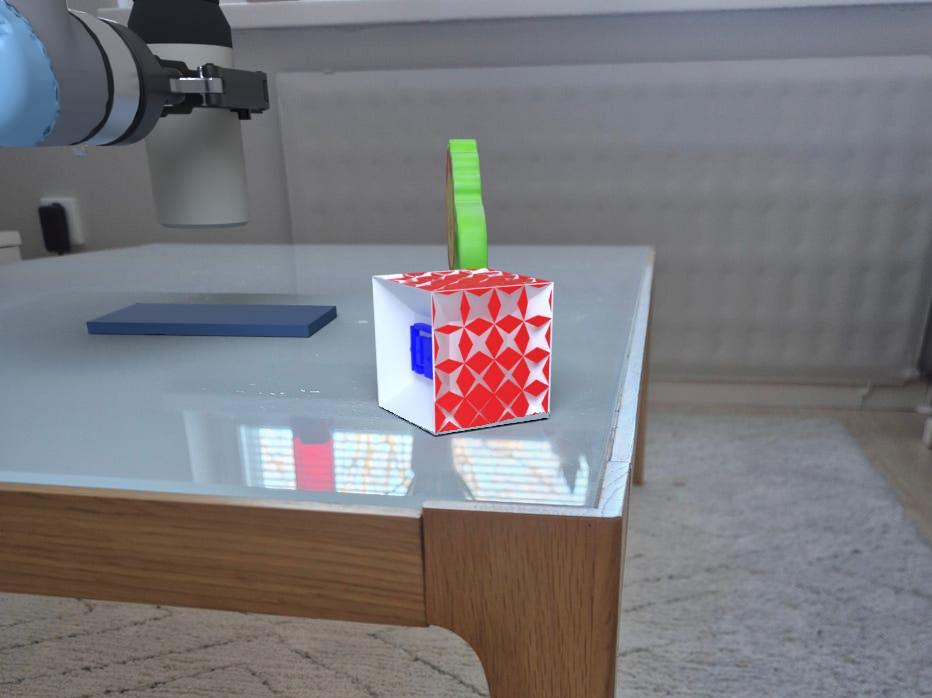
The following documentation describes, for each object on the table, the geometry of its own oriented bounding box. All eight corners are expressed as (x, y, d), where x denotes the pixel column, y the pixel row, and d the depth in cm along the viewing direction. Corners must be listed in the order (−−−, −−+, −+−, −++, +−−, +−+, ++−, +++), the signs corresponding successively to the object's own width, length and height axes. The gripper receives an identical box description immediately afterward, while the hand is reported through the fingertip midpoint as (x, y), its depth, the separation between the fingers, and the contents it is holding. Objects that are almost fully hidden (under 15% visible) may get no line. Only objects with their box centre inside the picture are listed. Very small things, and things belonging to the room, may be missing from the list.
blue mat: (88, 333, 83) (85, 321, 83) (138, 313, 93) (136, 303, 93) (309, 337, 82) (308, 325, 81) (337, 316, 91) (336, 305, 91)
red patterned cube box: (549, 418, 58) (553, 281, 54) (435, 436, 54) (431, 291, 50) (484, 392, 64) (484, 267, 60) (378, 406, 60) (371, 275, 57)
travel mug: (240, 229, 79) (211, -33, 70) (145, 229, 79) (104, -33, 70) (259, 221, 86) (235, -18, 77) (172, 222, 86) (138, -17, 77)
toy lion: (509, 364, 72) (513, 139, 65) (438, 365, 71) (434, 139, 64) (488, 328, 86) (489, 139, 79) (429, 329, 85) (424, 139, 78)
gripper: (-48, 146, 64) (101, 144, 84) (248, 145, 62) (329, 144, 83) (-79, 15, 61) (84, 46, 81) (235, 11, 59) (322, 43, 79)
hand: (208, 96), depth 82 cm, fingers closed on travel mug, 8 cm apart
